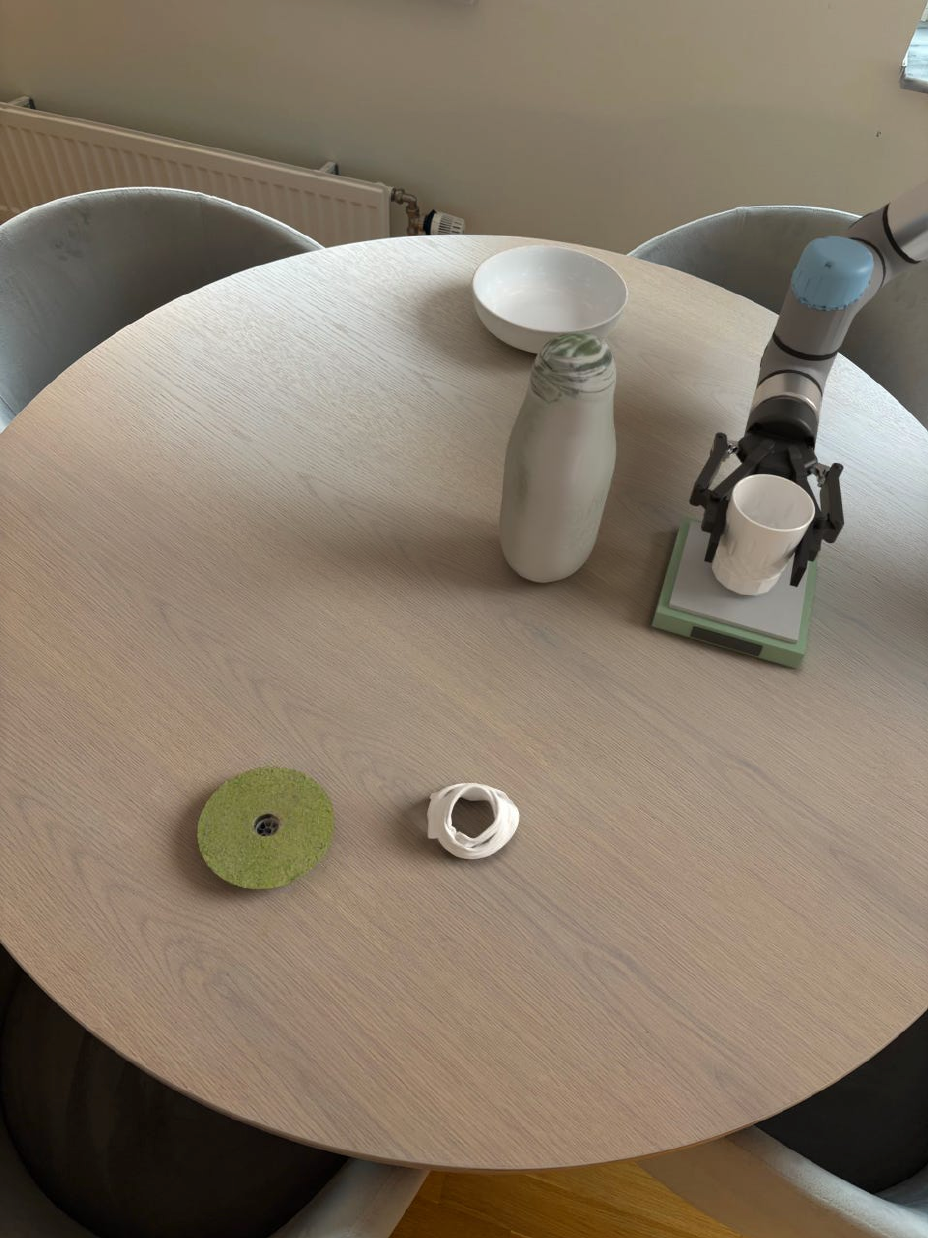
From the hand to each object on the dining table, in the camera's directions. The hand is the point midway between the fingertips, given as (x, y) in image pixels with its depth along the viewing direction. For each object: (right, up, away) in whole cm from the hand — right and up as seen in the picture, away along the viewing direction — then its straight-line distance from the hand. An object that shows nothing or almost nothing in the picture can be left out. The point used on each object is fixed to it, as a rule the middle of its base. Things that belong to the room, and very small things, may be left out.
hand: (754, 564), depth 91 cm
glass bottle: (-19, 0, +12) cm, 23 cm away
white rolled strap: (-27, -23, -8) cm, 37 cm away
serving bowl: (-17, +35, +40) cm, 56 cm away
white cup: (+1, 0, +8) cm, 8 cm away
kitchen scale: (+1, -3, +10) cm, 11 cm away
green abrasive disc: (-44, -24, -10) cm, 51 cm away
